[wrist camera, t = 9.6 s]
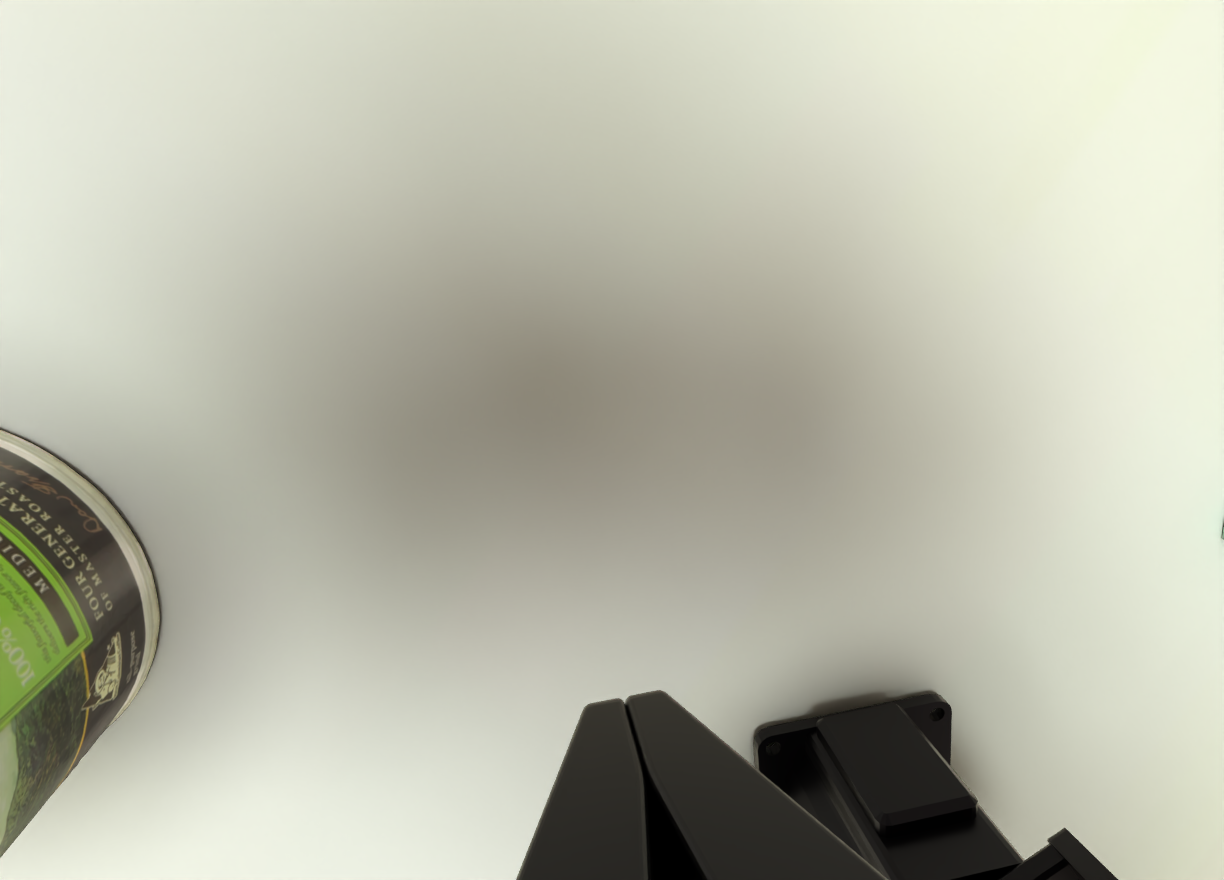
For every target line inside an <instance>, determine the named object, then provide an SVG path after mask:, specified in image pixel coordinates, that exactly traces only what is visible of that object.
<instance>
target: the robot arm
mask: <svg viewBox="0 0 1224 880" xmlns="http://www.w3.org/2000/svg"><path fill="white" fill-rule="evenodd" d="M936 708H937V709H936ZM934 709H936V710H935V711H934V712H932V711H933V710H934ZM931 712H932V713H931ZM951 720H952V711H951V707H950V705H949V704H948V703H947V702H946V701H945V700H944V699H943V698H942V697H941V696H940V695H938V694H927V695H922V696H917V697H912V698H907V699H903V700H898V701H893V702H888V703H883V704H878V705H873V706H868V707H864V708H859V709H854V710H849V711H844V712H839V713H834V714H830V715H825V716H820V717H815V718H810V719H805V720H800V721H795V722H791V723H786V724H781V725H776V726H771V727H767V728H764V729H762V730H761V731H759V732H758V733H757V735H756V736H755V738H754V756H755V767H754V766H752V765H751V764H750V763H749V762H748V761H747V760H745V759H744V758H743V757H742V756H741V755H739V754H738V753H737V752H736V751H735V750H733V749H732V748H731V747H730V746H729V745H727V744H726V743H725V742H724V741H723V740H722V739H720V738H719V737H718V736H717V735H716V734H714V733H713V732H712V731H711V730H710V729H708V728H707V727H706V726H705V725H704V724H703V723H701V722H700V721H699V720H698V719H697V718H695V717H694V716H693V715H692V714H691V713H689V712H688V711H687V710H686V709H685V708H684V707H682V706H681V705H680V704H679V703H678V702H676V701H675V700H674V699H673V698H672V697H670V696H669V695H668V694H667V693H666V692H664V691H661V690H656V691H651V692H646V693H641V694H636V695H631V696H629V697H628V698H627V699H626V701H625V703H624V702H623V700H621V699H619V698H616V699H611V700H606V701H601V702H596V703H591V704H588V705H587V706H585V708H584V709H583V711H582V714H581V716H580V719H579V721H578V724H577V727H576V729H575V732H574V734H573V737H572V739H571V742H570V744H569V747H568V749H567V752H566V754H565V757H564V760H563V762H562V765H561V767H560V770H559V772H558V775H557V777H556V780H555V782H554V785H553V787H552V790H551V792H550V795H549V798H548V800H547V803H546V805H545V808H544V810H543V813H542V815H541V818H540V820H539V823H538V825H537V828H536V830H535V833H534V836H533V838H532V841H531V843H530V846H529V848H528V851H527V853H526V856H525V858H524V861H523V863H522V866H521V869H520V871H519V874H518V876H517V879H516V880H1118V879H1117V878H1116V877H1115V876H1114V875H1113V874H1112V873H1111V872H1110V871H1109V870H1108V869H1107V868H1106V867H1105V866H1104V865H1103V864H1102V863H1100V862H1099V861H1098V860H1097V859H1096V858H1095V857H1094V856H1093V855H1092V854H1091V853H1090V852H1089V851H1088V850H1087V849H1086V848H1085V847H1084V846H1083V845H1082V844H1081V843H1080V842H1079V841H1078V840H1077V839H1076V838H1075V837H1074V836H1073V835H1072V834H1071V833H1070V832H1069V831H1068V830H1067V829H1066V828H1064V829H1062V830H1061V831H1059V832H1058V833H1056V834H1055V835H1053V836H1052V837H1050V838H1049V839H1047V841H1048V842H1049V843H1050V844H1048V845H1047V846H1045V847H1044V848H1042V849H1041V850H1039V851H1038V852H1036V853H1035V854H1034V855H1032V856H1031V857H1029V858H1028V859H1026V860H1024V859H1023V858H1022V857H1021V856H1020V854H1019V853H1018V852H1017V851H1016V850H1015V848H1014V847H1013V846H1012V845H1011V843H1010V842H1009V841H1008V840H1007V839H1006V837H1005V836H1004V835H1003V834H1002V833H1001V831H1000V830H999V829H998V828H997V826H996V825H995V824H994V823H993V822H992V820H991V819H990V818H989V817H988V815H987V814H986V813H985V812H984V811H983V809H982V808H981V807H980V806H979V805H978V801H977V799H976V797H975V795H974V794H973V793H972V792H971V791H970V789H969V788H968V787H967V786H966V785H965V783H964V782H963V781H962V780H961V779H960V777H959V776H958V775H957V774H956V773H955V771H954V770H953V769H952V768H951V766H950V757H951ZM772 742H775V743H774V744H773V745H772V746H770V747H766V746H767V745H768V744H769V743H772Z"/></svg>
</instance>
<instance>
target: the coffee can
mask: <svg viewBox="0 0 1224 880" xmlns="http://www.w3.org/2000/svg"><path fill="white" fill-rule="evenodd" d="M159 624H160V613H159V605H158V599H157V593H156V588H155V584H154V580H153V576H152V572H151V569H150V567H149V565H148V562H147V560H146V557H145V555H144V553H143V550H142V548H141V546H140V545H139V543H138V541H137V539H136V538H135V536H134V534H133V533H132V531H131V529H130V528H129V526H128V525H127V523H126V522H125V521H124V519H123V518H122V517H121V515H120V514H119V513H118V512H117V510H116V509H115V508H114V507H113V506H112V504H111V503H110V502H109V501H108V500H107V499H106V498H105V496H104V495H103V494H102V493H100V492H99V491H98V490H97V489H96V488H95V487H94V486H93V485H92V484H91V483H90V482H88V481H87V480H86V479H84V478H83V477H82V476H80V475H79V474H78V473H76V472H75V471H74V470H72V469H71V468H70V467H68V466H67V465H66V464H65V463H64V462H62V461H61V460H59V459H57V458H56V457H54V456H53V455H51V454H49V453H48V452H46V451H44V450H43V449H41V448H39V447H38V446H36V445H34V444H32V443H30V442H28V441H26V440H24V439H22V438H19V437H17V436H15V435H12V434H10V433H8V432H5V431H3V430H0V857H1V856H2V855H3V854H4V853H5V851H6V850H7V849H8V848H9V847H10V845H11V844H12V843H13V842H14V840H15V839H16V838H17V837H18V836H19V834H20V833H21V832H22V831H23V830H24V828H25V827H26V826H27V825H28V823H29V822H30V821H31V820H32V819H33V817H34V816H35V815H36V814H37V812H38V811H39V810H40V809H41V807H42V806H43V805H44V804H45V802H46V801H47V800H48V799H49V797H50V796H51V795H52V794H53V793H54V792H55V790H56V789H57V788H58V787H59V786H60V784H61V783H62V782H63V781H64V780H65V779H66V778H67V777H68V775H69V774H70V772H71V771H72V770H73V769H74V768H75V767H76V766H77V764H78V763H79V761H80V759H81V758H82V757H83V756H84V755H85V754H86V753H87V752H88V750H89V749H90V748H91V747H92V745H93V744H94V743H95V742H96V740H97V739H98V738H99V736H100V735H101V734H102V733H103V732H104V731H105V729H106V728H107V727H108V726H110V725H111V724H112V723H113V722H114V721H115V720H116V719H117V718H118V717H119V716H120V715H121V714H122V713H123V712H124V711H125V709H126V708H127V707H128V706H129V704H130V703H131V702H132V700H133V699H134V698H135V696H136V695H137V693H138V691H139V690H140V688H141V686H142V685H143V683H144V681H145V679H146V677H147V674H148V672H149V669H150V667H151V664H152V661H153V658H154V656H155V651H156V647H157V640H158V633H159Z"/></svg>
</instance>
